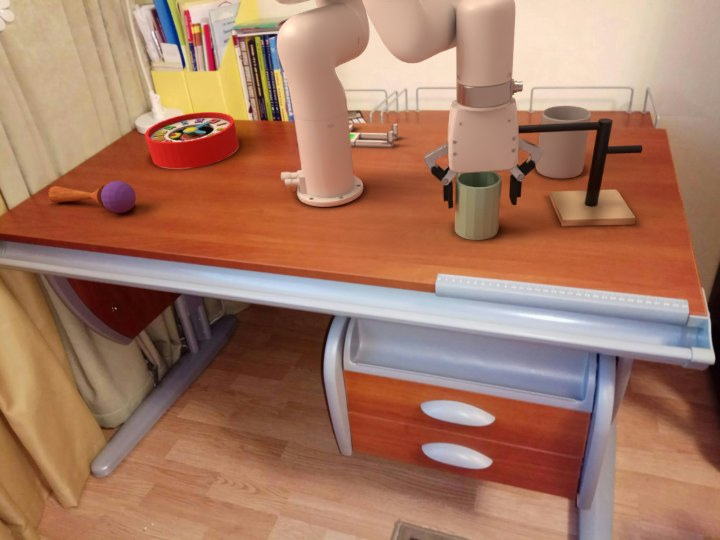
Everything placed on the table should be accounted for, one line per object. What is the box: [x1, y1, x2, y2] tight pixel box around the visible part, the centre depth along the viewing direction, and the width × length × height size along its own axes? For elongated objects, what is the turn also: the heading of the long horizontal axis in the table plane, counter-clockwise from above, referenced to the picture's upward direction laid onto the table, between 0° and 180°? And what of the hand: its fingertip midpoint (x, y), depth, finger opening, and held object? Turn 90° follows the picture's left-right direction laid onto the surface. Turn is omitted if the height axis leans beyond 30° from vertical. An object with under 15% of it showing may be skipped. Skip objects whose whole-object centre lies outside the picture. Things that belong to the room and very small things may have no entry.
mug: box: [535, 105, 592, 180], centre depth 103 cm, size 12×8×11 cm
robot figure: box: [349, 123, 399, 149], centre depth 124 cm, size 16×3×22 cm
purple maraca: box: [48, 180, 137, 214], centre depth 106 cm, size 6×6×20 cm
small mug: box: [454, 171, 503, 241], centre depth 88 cm, size 11×7×9 cm, turn 175°
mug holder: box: [518, 117, 643, 227], centre depth 87 cm, size 19×10×15 cm, turn 85°
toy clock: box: [144, 111, 240, 170], centre depth 127 cm, size 20×6×20 cm
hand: (481, 202), depth 86 cm, fingers open, 9 cm apart
